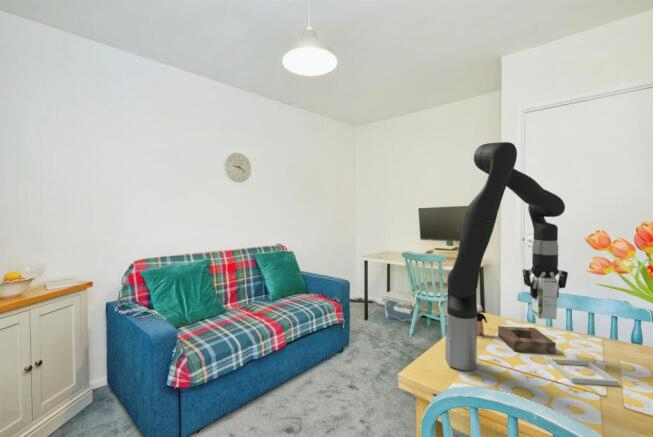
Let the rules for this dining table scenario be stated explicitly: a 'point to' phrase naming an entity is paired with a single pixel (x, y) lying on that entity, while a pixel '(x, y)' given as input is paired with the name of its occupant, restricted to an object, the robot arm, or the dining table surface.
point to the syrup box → (545, 299)
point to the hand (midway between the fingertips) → (544, 298)
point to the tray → (606, 381)
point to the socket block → (526, 340)
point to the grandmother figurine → (480, 321)
